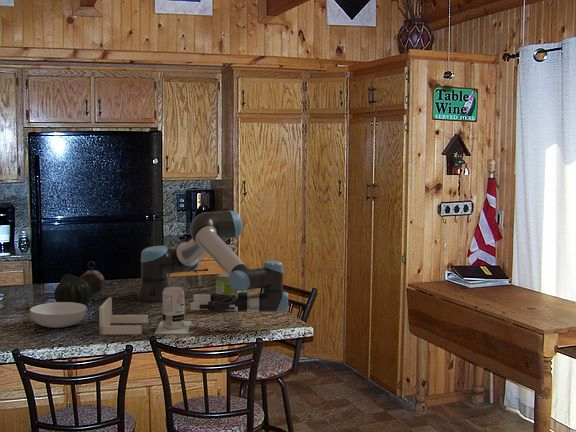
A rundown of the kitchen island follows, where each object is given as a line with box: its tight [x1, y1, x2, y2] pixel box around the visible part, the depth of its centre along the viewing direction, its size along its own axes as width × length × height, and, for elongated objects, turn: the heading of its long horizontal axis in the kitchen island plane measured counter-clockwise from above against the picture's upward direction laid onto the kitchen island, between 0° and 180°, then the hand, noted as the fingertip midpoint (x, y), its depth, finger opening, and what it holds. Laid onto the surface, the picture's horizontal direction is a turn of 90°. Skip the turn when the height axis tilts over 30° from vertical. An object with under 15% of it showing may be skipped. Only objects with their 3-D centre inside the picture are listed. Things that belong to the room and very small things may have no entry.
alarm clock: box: [79, 261, 106, 297], centre depth 324 cm, size 11×5×16 cm, turn 84°
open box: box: [98, 297, 149, 335], centre depth 270 cm, size 15×17×10 cm
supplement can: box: [162, 286, 185, 329], centre depth 271 cm, size 8×8×15 cm
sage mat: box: [154, 320, 192, 335], centre depth 272 cm, size 12×18×1 cm, turn 3°
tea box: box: [215, 271, 247, 312], centre depth 307 cm, size 15×10×15 cm, turn 168°
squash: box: [53, 273, 92, 306], centre depth 304 cm, size 14×15×15 cm
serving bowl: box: [29, 301, 88, 329], centre depth 274 cm, size 21×21×7 cm
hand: (192, 302), depth 271 cm, fingers open, 13 cm apart
